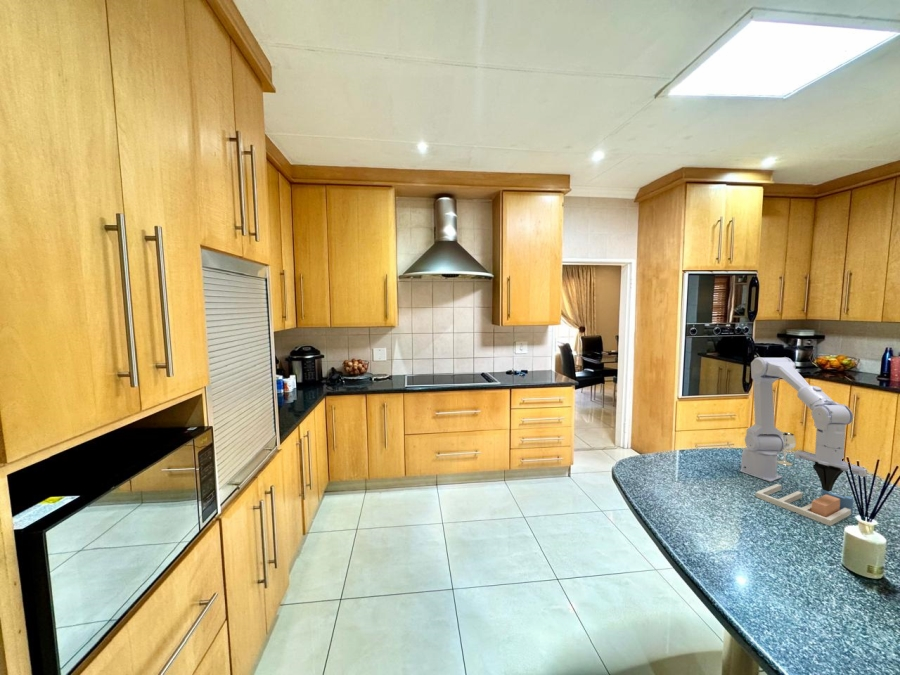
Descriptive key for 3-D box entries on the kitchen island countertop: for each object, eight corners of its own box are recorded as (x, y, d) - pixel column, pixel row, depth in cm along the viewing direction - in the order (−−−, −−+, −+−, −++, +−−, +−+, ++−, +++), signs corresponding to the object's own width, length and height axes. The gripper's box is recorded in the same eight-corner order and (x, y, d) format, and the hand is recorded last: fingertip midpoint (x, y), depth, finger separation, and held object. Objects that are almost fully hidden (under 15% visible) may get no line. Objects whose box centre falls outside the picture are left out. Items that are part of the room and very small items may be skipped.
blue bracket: (820, 504, 109) (821, 489, 109) (822, 502, 110) (823, 488, 110) (849, 514, 103) (850, 499, 103) (852, 513, 104) (853, 497, 104)
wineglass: (798, 466, 135) (800, 436, 134) (781, 465, 136) (782, 435, 135) (787, 460, 141) (788, 431, 140) (770, 459, 142) (772, 430, 141)
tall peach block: (811, 515, 103) (811, 501, 103) (825, 508, 107) (826, 494, 107) (825, 521, 101) (826, 506, 100) (839, 513, 104) (840, 498, 104)
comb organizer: (755, 496, 114) (755, 492, 114) (776, 488, 119) (776, 483, 119) (830, 526, 98) (830, 520, 98) (850, 514, 103) (851, 509, 103)
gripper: (790, 439, 107) (788, 482, 108) (860, 456, 94) (857, 505, 95) (802, 435, 110) (799, 477, 111) (871, 452, 97) (868, 499, 98)
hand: (827, 489), depth 103 cm, fingers closed
